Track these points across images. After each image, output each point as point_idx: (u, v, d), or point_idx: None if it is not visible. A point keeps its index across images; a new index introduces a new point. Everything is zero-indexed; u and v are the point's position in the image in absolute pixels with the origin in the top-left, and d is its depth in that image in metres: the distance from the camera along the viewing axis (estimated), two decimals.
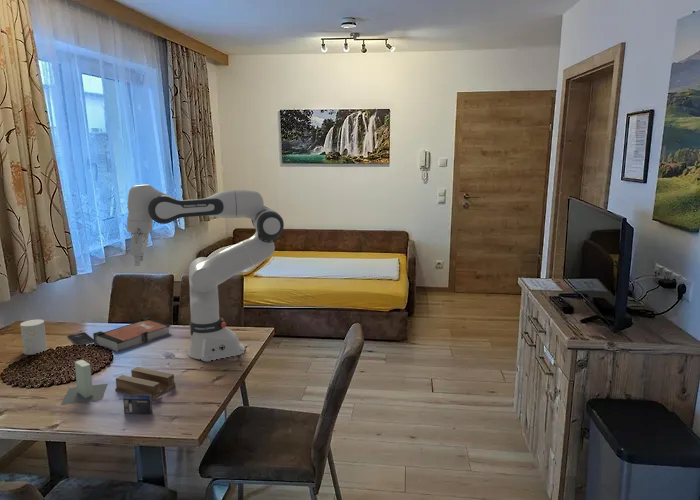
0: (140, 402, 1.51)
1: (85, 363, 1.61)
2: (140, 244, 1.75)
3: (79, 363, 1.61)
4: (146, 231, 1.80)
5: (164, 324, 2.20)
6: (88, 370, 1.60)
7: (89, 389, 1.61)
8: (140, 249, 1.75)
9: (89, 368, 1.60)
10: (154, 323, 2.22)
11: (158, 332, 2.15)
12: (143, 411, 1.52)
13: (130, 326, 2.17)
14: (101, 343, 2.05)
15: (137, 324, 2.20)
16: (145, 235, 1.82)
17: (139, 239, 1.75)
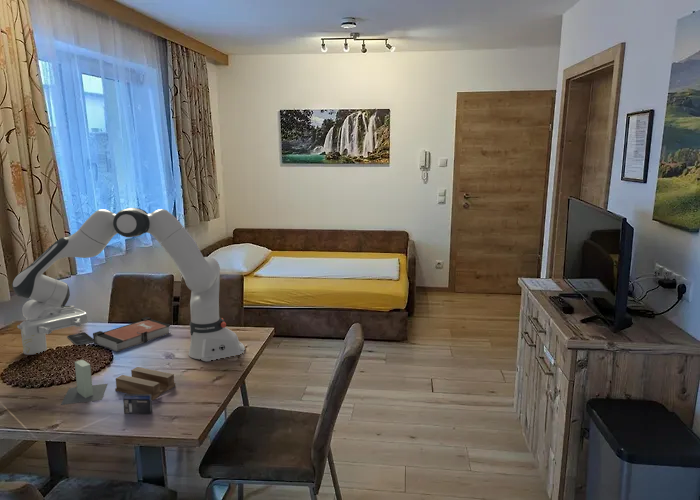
0: (140, 402, 1.51)
1: (85, 363, 1.61)
2: (22, 324, 1.65)
3: (79, 363, 1.61)
4: (38, 314, 1.71)
5: (164, 324, 2.20)
6: (88, 370, 1.60)
7: (89, 389, 1.61)
8: (23, 326, 1.63)
9: (89, 368, 1.60)
10: (154, 323, 2.22)
11: (157, 332, 2.15)
12: (143, 411, 1.52)
13: (130, 326, 2.17)
14: (101, 343, 2.05)
15: (137, 324, 2.20)
16: (44, 315, 1.72)
17: (21, 324, 1.66)
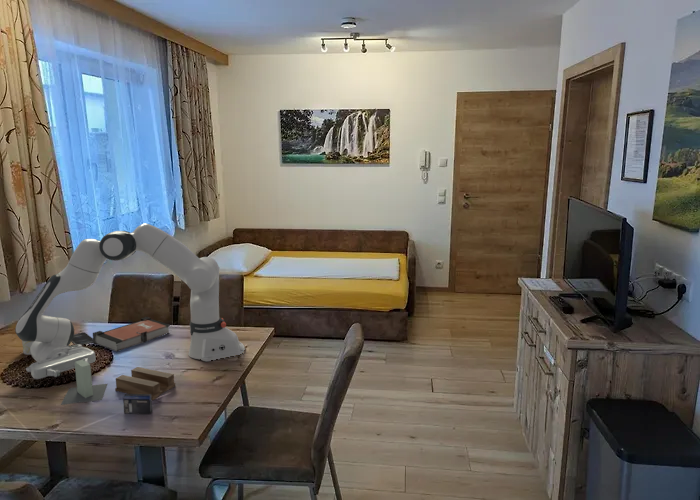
0: (140, 402, 1.51)
1: (85, 363, 1.61)
2: (31, 367, 1.66)
3: (79, 363, 1.61)
4: (46, 355, 1.73)
5: (163, 324, 2.21)
6: (88, 370, 1.60)
7: (89, 389, 1.61)
8: (32, 369, 1.64)
9: (89, 368, 1.60)
10: (154, 323, 2.22)
11: (157, 332, 2.15)
12: (143, 411, 1.52)
13: (129, 326, 2.17)
14: (100, 343, 2.05)
15: (137, 324, 2.20)
16: (52, 356, 1.73)
17: (30, 367, 1.67)
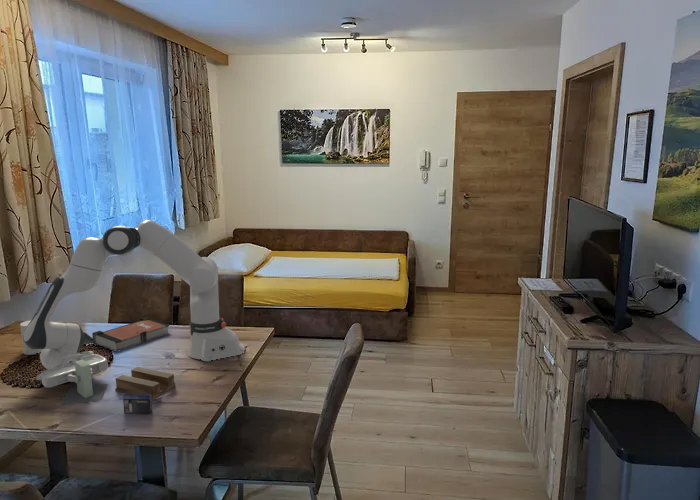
0: (140, 402, 1.51)
1: (85, 363, 1.61)
2: (42, 375, 1.59)
3: (79, 363, 1.61)
4: (57, 363, 1.66)
5: (163, 324, 2.21)
6: (88, 370, 1.60)
7: (89, 389, 1.61)
8: (43, 377, 1.58)
9: (89, 368, 1.60)
10: (153, 322, 2.22)
11: (157, 332, 2.16)
12: (143, 411, 1.52)
13: (129, 326, 2.18)
14: (100, 342, 2.06)
15: (136, 324, 2.20)
16: (63, 364, 1.66)
17: (41, 375, 1.61)
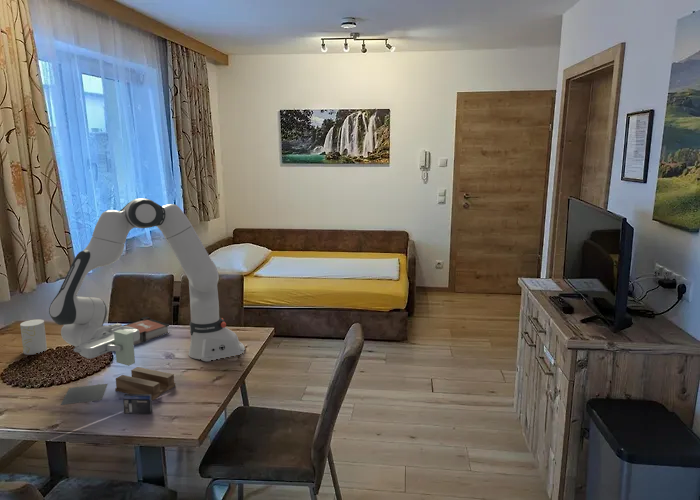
0: (140, 402, 1.51)
1: (126, 331, 1.62)
2: (81, 347, 1.58)
3: (120, 332, 1.62)
4: (90, 335, 1.65)
5: (163, 324, 2.21)
6: (131, 338, 1.62)
7: (132, 357, 1.63)
8: (84, 348, 1.57)
9: (132, 336, 1.62)
10: (153, 322, 2.22)
11: (156, 331, 2.16)
12: (143, 411, 1.52)
13: (129, 325, 2.18)
14: None
15: (136, 323, 2.20)
16: (97, 336, 1.65)
17: (79, 348, 1.59)
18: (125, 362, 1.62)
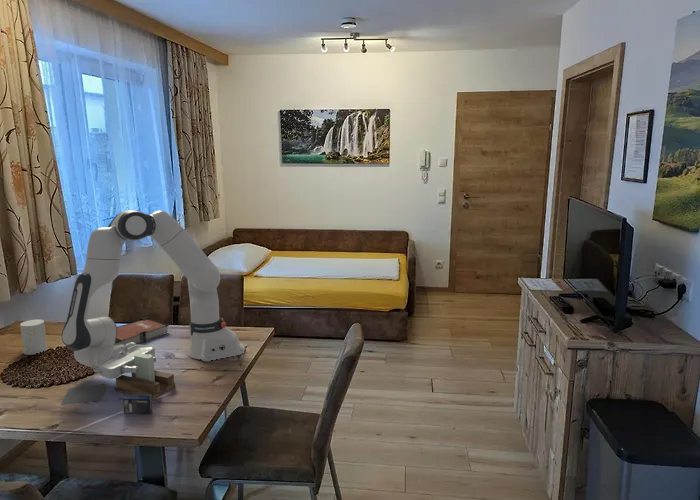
0: (140, 402, 1.51)
1: (147, 355, 1.66)
2: (103, 368, 1.60)
3: (141, 356, 1.65)
4: (108, 355, 1.67)
5: (162, 323, 2.21)
6: (152, 361, 1.66)
7: (153, 380, 1.67)
8: (106, 369, 1.59)
9: (152, 359, 1.66)
10: (153, 322, 2.22)
11: (156, 331, 2.16)
12: (143, 411, 1.52)
13: (129, 325, 2.18)
14: None
15: (136, 323, 2.20)
16: (115, 356, 1.67)
17: (99, 368, 1.61)
18: None
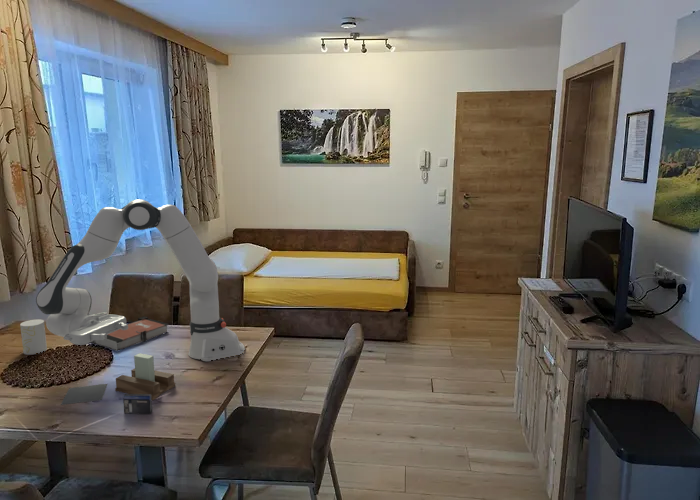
0: (140, 402, 1.51)
1: (147, 355, 1.66)
2: (72, 335, 1.62)
3: (141, 356, 1.65)
4: (79, 324, 1.69)
5: (162, 323, 2.22)
6: (152, 361, 1.66)
7: (153, 380, 1.67)
8: (76, 335, 1.62)
9: (152, 359, 1.66)
10: (152, 322, 2.23)
11: (156, 331, 2.17)
12: (143, 411, 1.52)
13: (128, 325, 2.18)
14: (100, 342, 2.06)
15: (135, 323, 2.21)
16: (86, 324, 1.70)
17: (69, 335, 1.63)
18: None
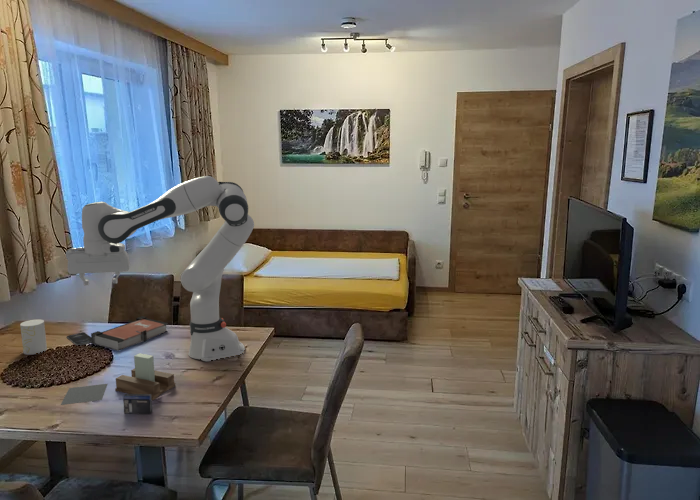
0: (140, 402, 1.51)
1: (147, 355, 1.66)
2: (68, 262, 1.71)
3: (141, 356, 1.65)
4: (85, 251, 1.71)
5: (161, 322, 2.22)
6: (152, 361, 1.66)
7: (153, 380, 1.67)
8: (67, 267, 1.71)
9: (152, 359, 1.66)
10: (151, 321, 2.23)
11: (156, 330, 2.17)
12: (143, 411, 1.52)
13: (127, 325, 2.18)
14: (100, 343, 2.05)
15: (133, 323, 2.21)
16: (90, 255, 1.72)
17: (68, 257, 1.71)
18: None
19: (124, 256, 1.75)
